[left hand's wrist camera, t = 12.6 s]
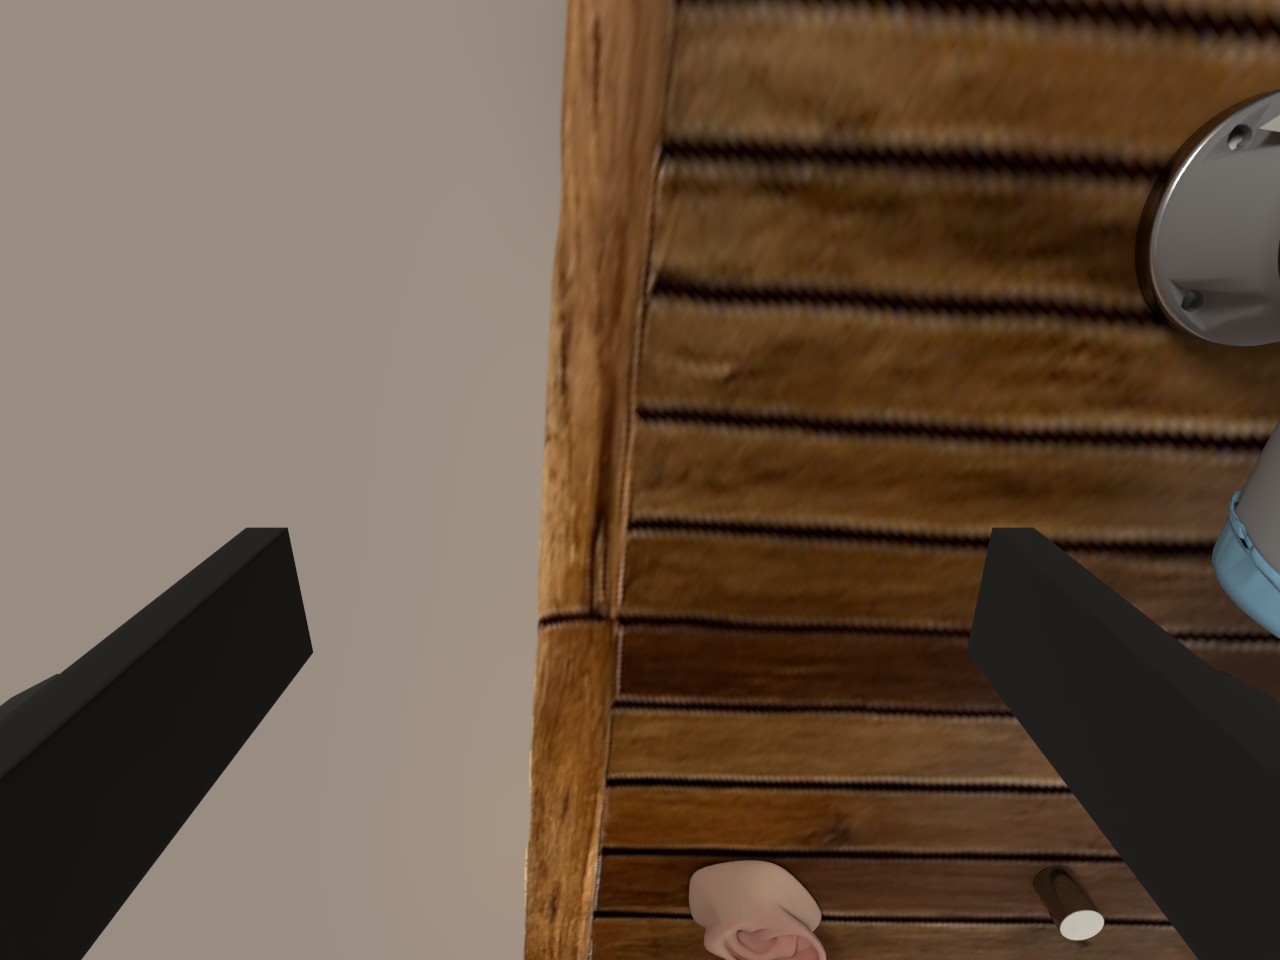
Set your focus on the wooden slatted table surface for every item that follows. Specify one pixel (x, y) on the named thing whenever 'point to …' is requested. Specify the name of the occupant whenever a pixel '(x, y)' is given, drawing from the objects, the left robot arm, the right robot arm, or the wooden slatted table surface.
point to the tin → (1068, 903)
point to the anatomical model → (755, 912)
